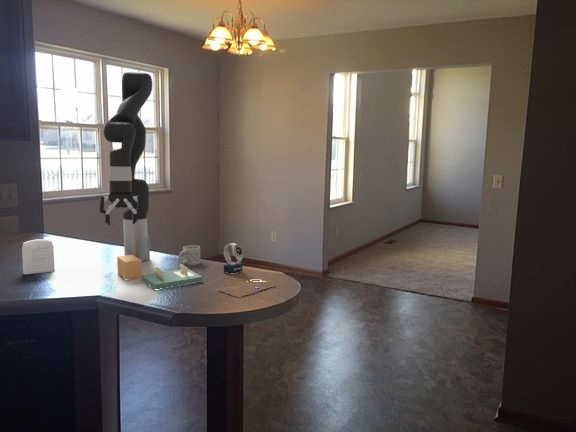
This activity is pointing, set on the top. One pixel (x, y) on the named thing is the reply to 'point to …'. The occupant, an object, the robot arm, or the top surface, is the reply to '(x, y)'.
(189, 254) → the mug
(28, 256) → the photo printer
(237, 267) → the watch
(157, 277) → the header board
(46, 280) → the top surface
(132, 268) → the block
